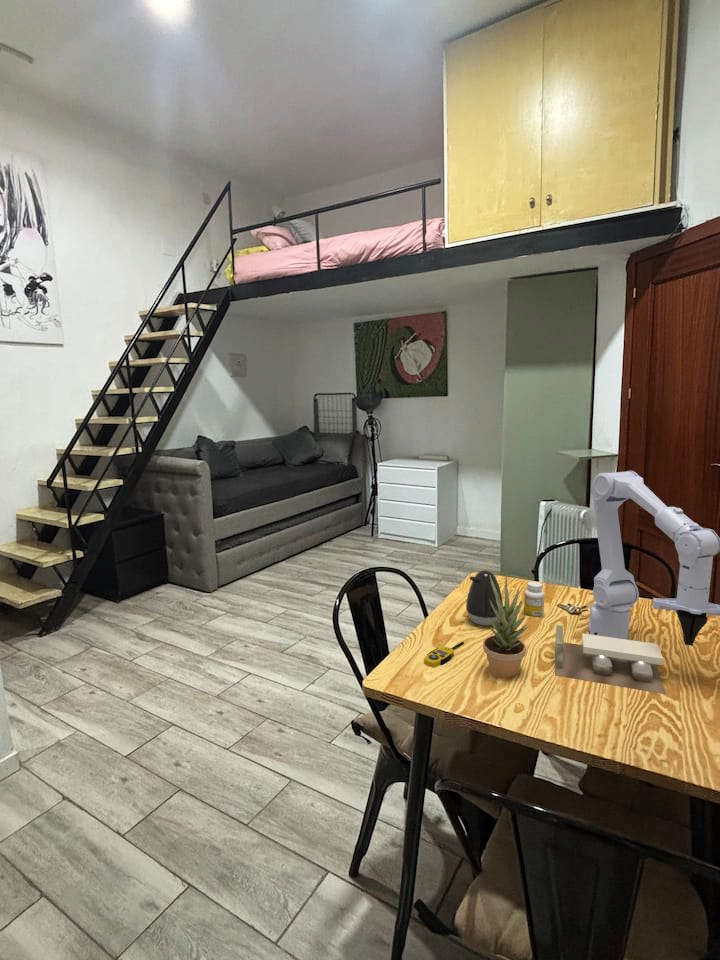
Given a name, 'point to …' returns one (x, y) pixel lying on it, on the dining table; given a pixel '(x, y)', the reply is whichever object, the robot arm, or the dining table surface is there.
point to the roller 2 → (641, 671)
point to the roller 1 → (601, 664)
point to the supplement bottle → (534, 600)
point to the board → (580, 667)
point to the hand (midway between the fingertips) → (687, 643)
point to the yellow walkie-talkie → (440, 656)
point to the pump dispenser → (482, 598)
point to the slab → (622, 649)
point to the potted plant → (505, 637)
